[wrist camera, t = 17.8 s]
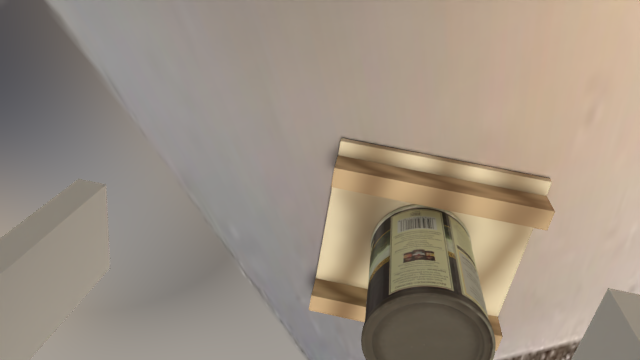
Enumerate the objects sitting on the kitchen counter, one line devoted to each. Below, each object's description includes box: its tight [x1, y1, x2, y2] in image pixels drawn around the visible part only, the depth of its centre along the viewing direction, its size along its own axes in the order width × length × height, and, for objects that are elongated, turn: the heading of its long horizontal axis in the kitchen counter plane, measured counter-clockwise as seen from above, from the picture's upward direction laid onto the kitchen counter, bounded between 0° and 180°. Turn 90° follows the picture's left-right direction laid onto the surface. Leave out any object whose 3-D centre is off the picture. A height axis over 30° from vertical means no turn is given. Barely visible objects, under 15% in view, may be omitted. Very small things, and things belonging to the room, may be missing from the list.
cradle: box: [309, 138, 555, 351], centre depth 51 cm, size 20×20×4 cm
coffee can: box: [361, 204, 496, 360], centre depth 46 cm, size 10×10×14 cm
